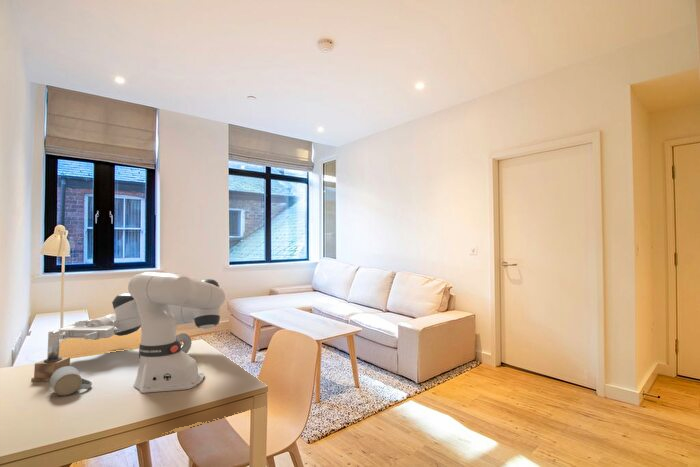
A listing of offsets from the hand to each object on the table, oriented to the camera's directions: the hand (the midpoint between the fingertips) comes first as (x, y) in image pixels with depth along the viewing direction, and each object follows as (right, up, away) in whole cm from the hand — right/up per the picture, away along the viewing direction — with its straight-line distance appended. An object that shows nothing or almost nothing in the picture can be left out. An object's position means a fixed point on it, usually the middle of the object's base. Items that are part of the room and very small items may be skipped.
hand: (73, 337), depth 136 cm
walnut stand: (+1, -11, -11) cm, 15 cm away
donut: (+35, -13, +14) cm, 40 cm away
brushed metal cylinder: (+1, -5, -10) cm, 11 cm away
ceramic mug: (+17, -12, -22) cm, 30 cm away
